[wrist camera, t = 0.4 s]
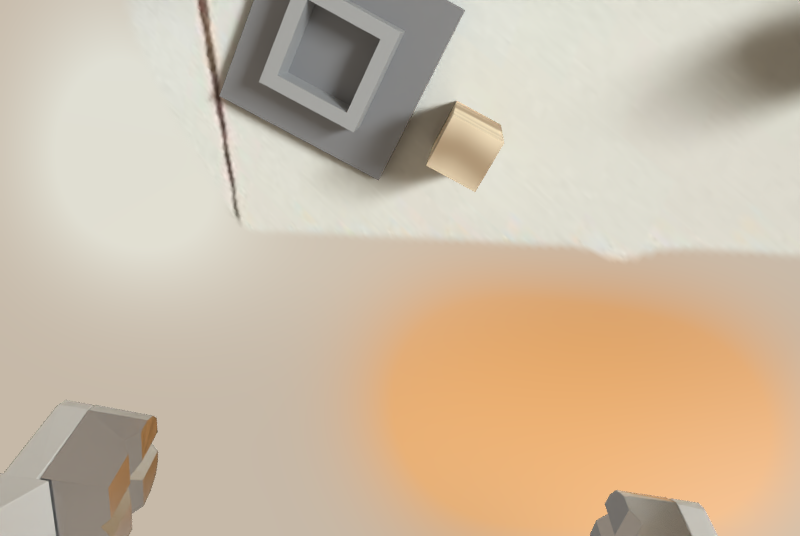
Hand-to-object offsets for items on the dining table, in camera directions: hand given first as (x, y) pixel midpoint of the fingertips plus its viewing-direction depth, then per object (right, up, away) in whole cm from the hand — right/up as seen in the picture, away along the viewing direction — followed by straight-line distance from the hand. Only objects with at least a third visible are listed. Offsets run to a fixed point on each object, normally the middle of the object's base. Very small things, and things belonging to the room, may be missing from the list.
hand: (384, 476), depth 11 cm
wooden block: (+6, +16, +43) cm, 46 cm away
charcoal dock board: (-5, +22, +41) cm, 47 cm away
